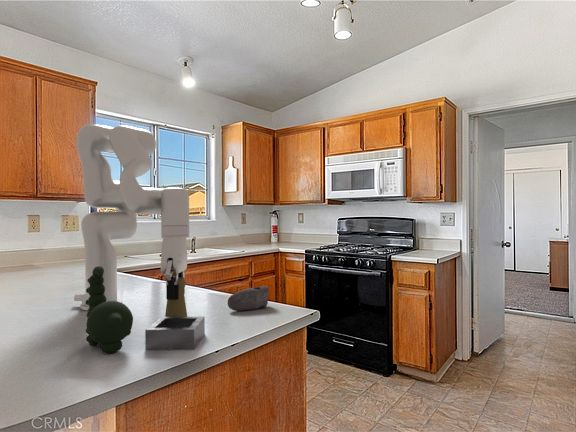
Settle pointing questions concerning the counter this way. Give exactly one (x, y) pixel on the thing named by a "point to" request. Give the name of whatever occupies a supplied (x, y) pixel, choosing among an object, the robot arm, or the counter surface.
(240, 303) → the perforated stone tool
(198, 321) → the metal open box
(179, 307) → the cork
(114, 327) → the toy figurine
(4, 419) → the counter surface
